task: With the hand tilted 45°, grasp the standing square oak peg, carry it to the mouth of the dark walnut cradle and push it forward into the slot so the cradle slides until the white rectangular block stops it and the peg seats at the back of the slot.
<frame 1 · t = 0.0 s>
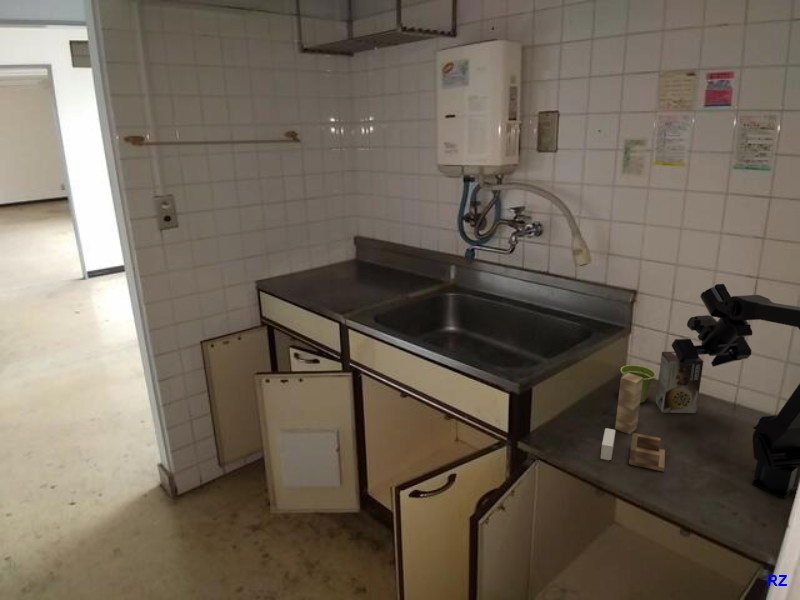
hand: (696, 366, 148), 15 cm above the worktop, tool tilted 35°, fingers open, 9 cm apart
walnut cradle: (647, 451, 133), point 2 cm above the worktop, slide at 0.0 cm
plant pot: (634, 399, 163), on the worktop
oak peg: (625, 428, 147), on the worktop
coffee box: (674, 408, 157), on the worktop
white rectangular block: (607, 451, 137), on the worktop
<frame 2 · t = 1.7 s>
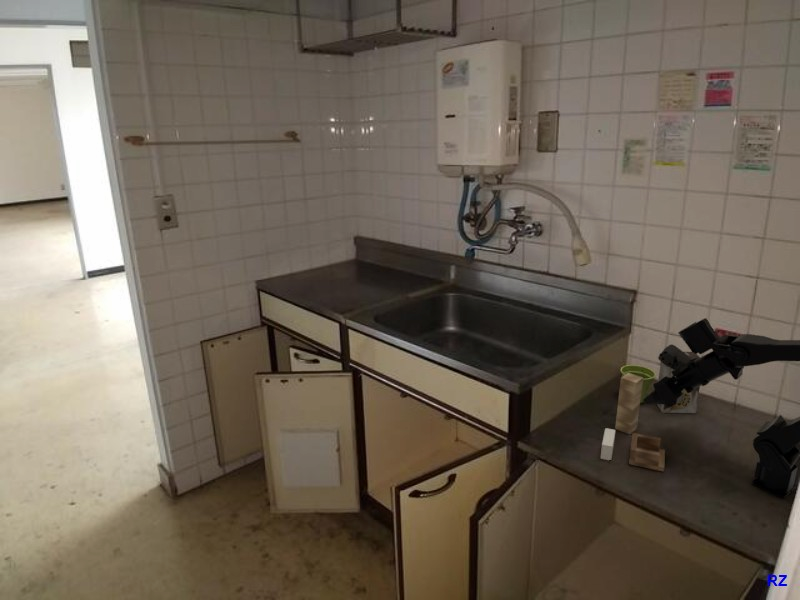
hand: (652, 395, 139), 12 cm above the worktop, tool tilted 45°, fingers open, 9 cm apart
nothing on the worktop moved.
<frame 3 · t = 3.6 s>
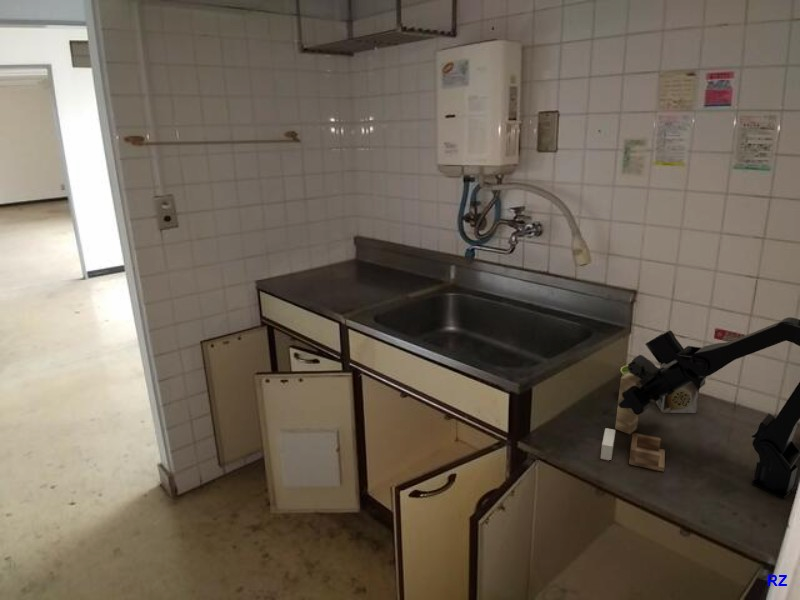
hand: (623, 403, 146), 7 cm above the worktop, tool tilted 45°, fingers closed on oak peg, 4 cm apart
oak peg: (625, 428, 147), on the worktop, touching gripper
everything else where it was.
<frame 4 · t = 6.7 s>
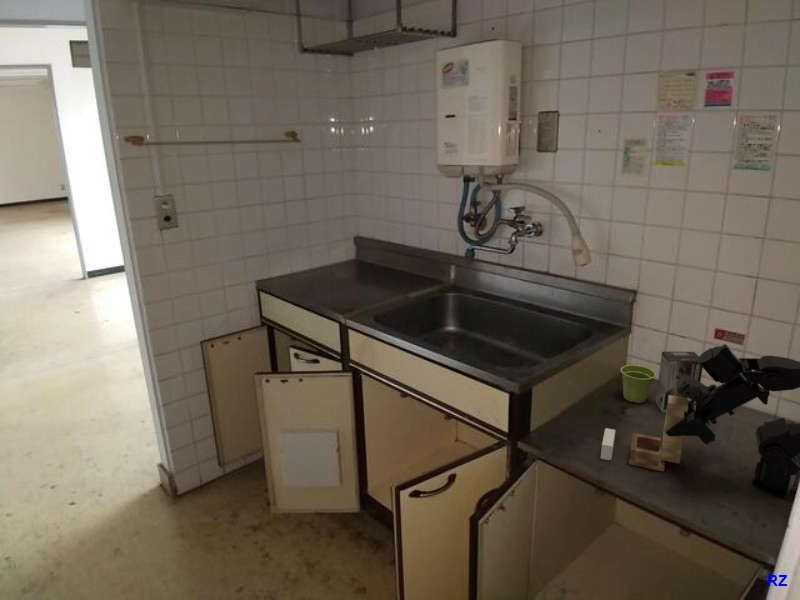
hand: (667, 429, 129), 9 cm above the worktop, tool tilted 45°, fingers closed on oak peg, 4 cm apart
oak peg: (669, 457, 131), point 2 cm above the worktop, touching gripper
everything else where it was.
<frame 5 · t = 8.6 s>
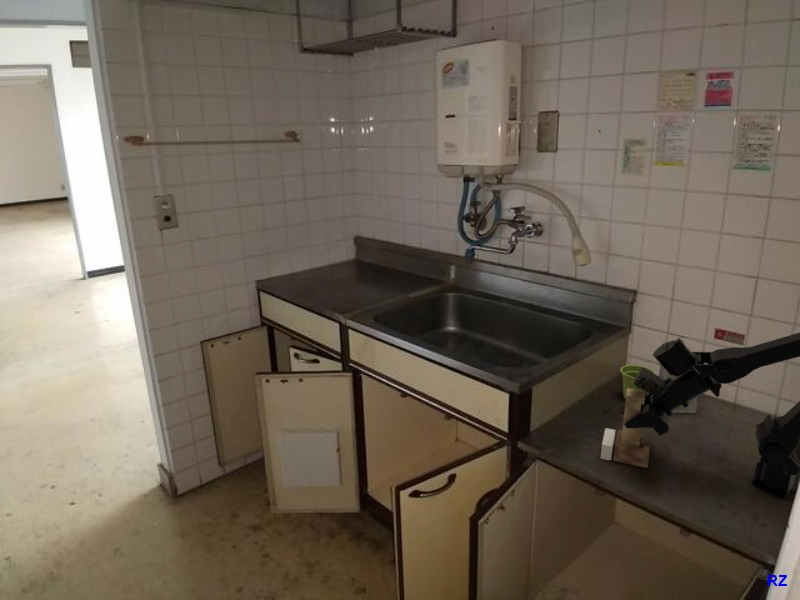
hand: (626, 422, 133), 9 cm above the worktop, tool tilted 45°, fingers closed on oak peg, 4 cm apart
walnut cradle: (632, 448, 134), point 2 cm above the worktop, slide at 3.5 cm, touching oak peg
oak peg: (629, 448, 135), point 2 cm above the worktop, touching gripper, walnut cradle
everything else where it was.
when the fingers open (9 cm above the worktop, at t = 9.7 s): oak peg stays where it is, resting on walnut cradle.
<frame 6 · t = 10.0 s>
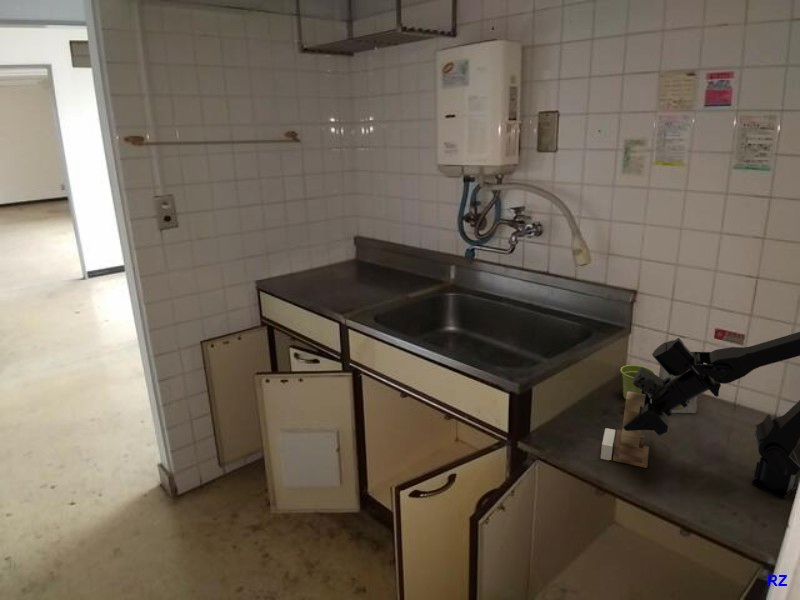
hand: (625, 421, 133), 9 cm above the worktop, tool tilted 45°, fingers open, 7 cm apart
oak peg: (629, 451, 135), point 1 cm above the worktop, touching walnut cradle
everything else where it was.
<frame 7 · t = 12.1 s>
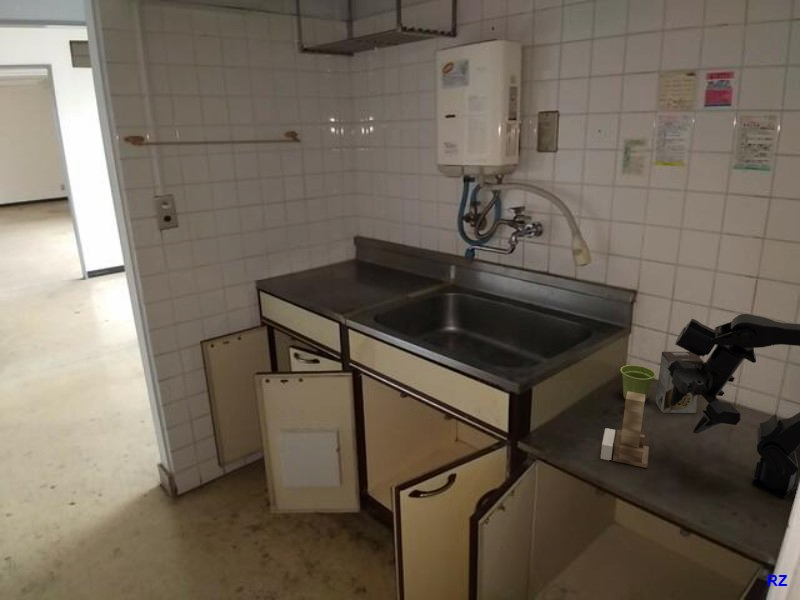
hand: (683, 418, 129), 12 cm above the worktop, tool tilted 20°, fingers open, 9 cm apart
nothing on the worktop moved.
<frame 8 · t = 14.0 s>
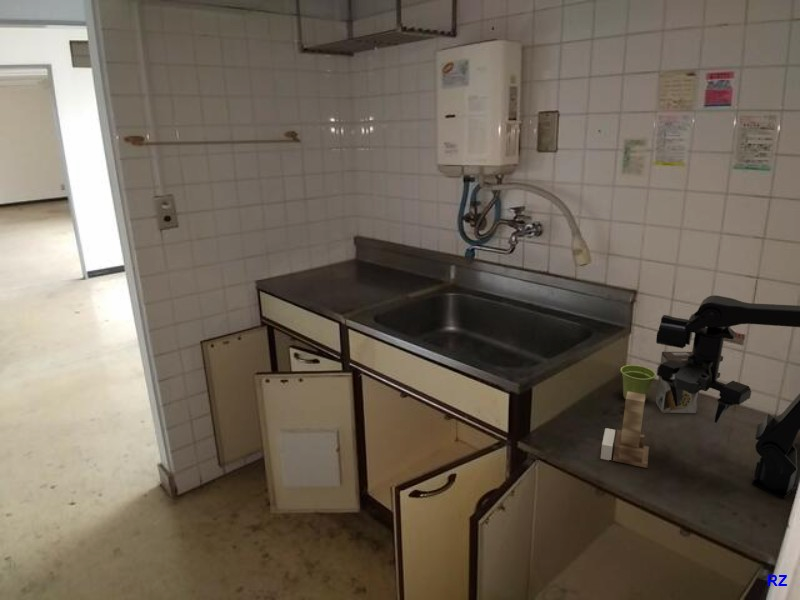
hand: (696, 413, 128), 13 cm above the worktop, tool pointing down, fingers open, 9 cm apart
nothing on the worktop moved.
at the end: walnut cradle slide at 3.6 cm; oak peg 0.2 cm off-centre on the walnut cradle, point 1.2 cm above the walnut cradle's base; oak peg tilted 0° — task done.
